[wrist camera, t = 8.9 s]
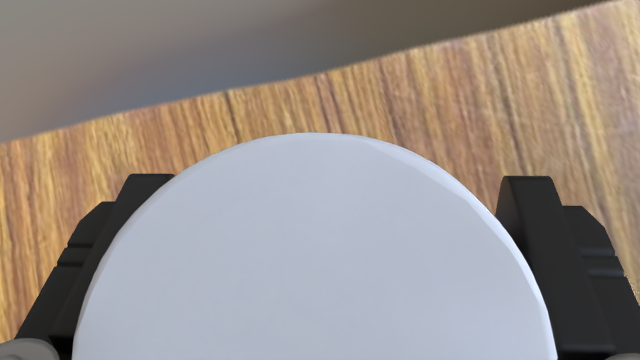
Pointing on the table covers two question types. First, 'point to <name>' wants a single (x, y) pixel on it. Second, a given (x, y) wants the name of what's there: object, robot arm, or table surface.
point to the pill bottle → (313, 263)
